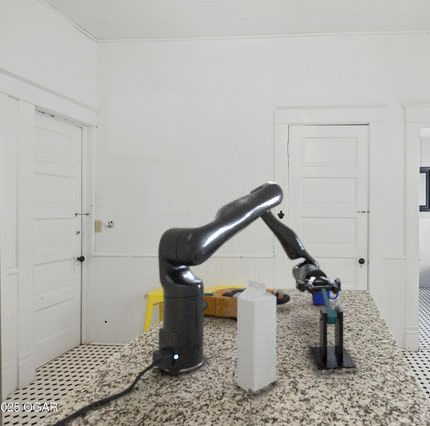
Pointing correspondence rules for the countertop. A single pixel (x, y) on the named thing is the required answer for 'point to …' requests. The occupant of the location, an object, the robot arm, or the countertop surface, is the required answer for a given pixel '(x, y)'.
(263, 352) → the milk
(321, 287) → the lever
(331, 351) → the bracket
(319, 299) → the mug
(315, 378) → the countertop surface
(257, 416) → the countertop surface
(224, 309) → the device
